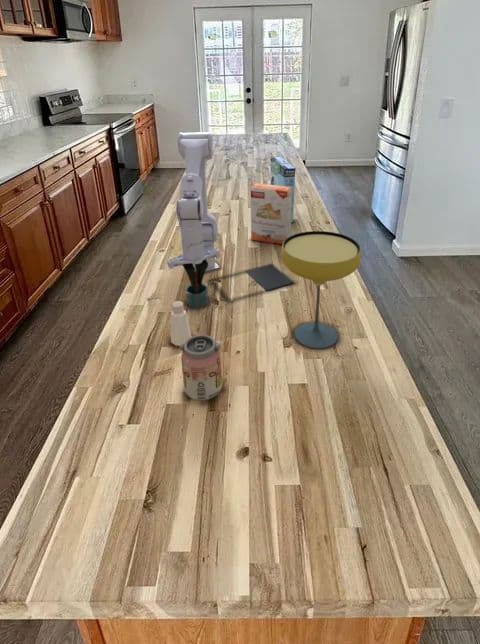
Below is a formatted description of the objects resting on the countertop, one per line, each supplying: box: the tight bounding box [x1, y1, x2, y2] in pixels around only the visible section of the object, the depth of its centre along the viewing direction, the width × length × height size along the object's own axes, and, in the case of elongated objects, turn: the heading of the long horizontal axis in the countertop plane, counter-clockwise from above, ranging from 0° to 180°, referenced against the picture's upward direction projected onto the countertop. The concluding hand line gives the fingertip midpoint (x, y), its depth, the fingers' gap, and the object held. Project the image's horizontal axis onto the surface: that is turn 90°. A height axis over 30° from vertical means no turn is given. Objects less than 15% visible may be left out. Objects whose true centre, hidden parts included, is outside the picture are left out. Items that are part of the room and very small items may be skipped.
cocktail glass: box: [281, 230, 362, 349], centre depth 105 cm, size 18×18×25 cm
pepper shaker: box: [170, 300, 192, 347], centre depth 107 cm, size 5×5×11 cm
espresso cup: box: [185, 283, 209, 308], centre depth 125 cm, size 6×6×4 cm
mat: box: [244, 264, 294, 292], centre depth 135 cm, size 14×22×1 cm, turn 116°
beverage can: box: [179, 334, 223, 402], centre depth 92 cm, size 9×8×12 cm
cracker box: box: [250, 182, 292, 245], centre depth 159 cm, size 14×6×21 cm, turn 68°
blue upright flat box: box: [269, 156, 296, 223], centre depth 183 cm, size 20×5×23 cm, turn 13°
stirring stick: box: [194, 270, 199, 294], centre depth 123 cm, size 1×1×9 cm
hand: (196, 284), depth 123 cm, fingers closed on stirring stick, 1 cm apart
